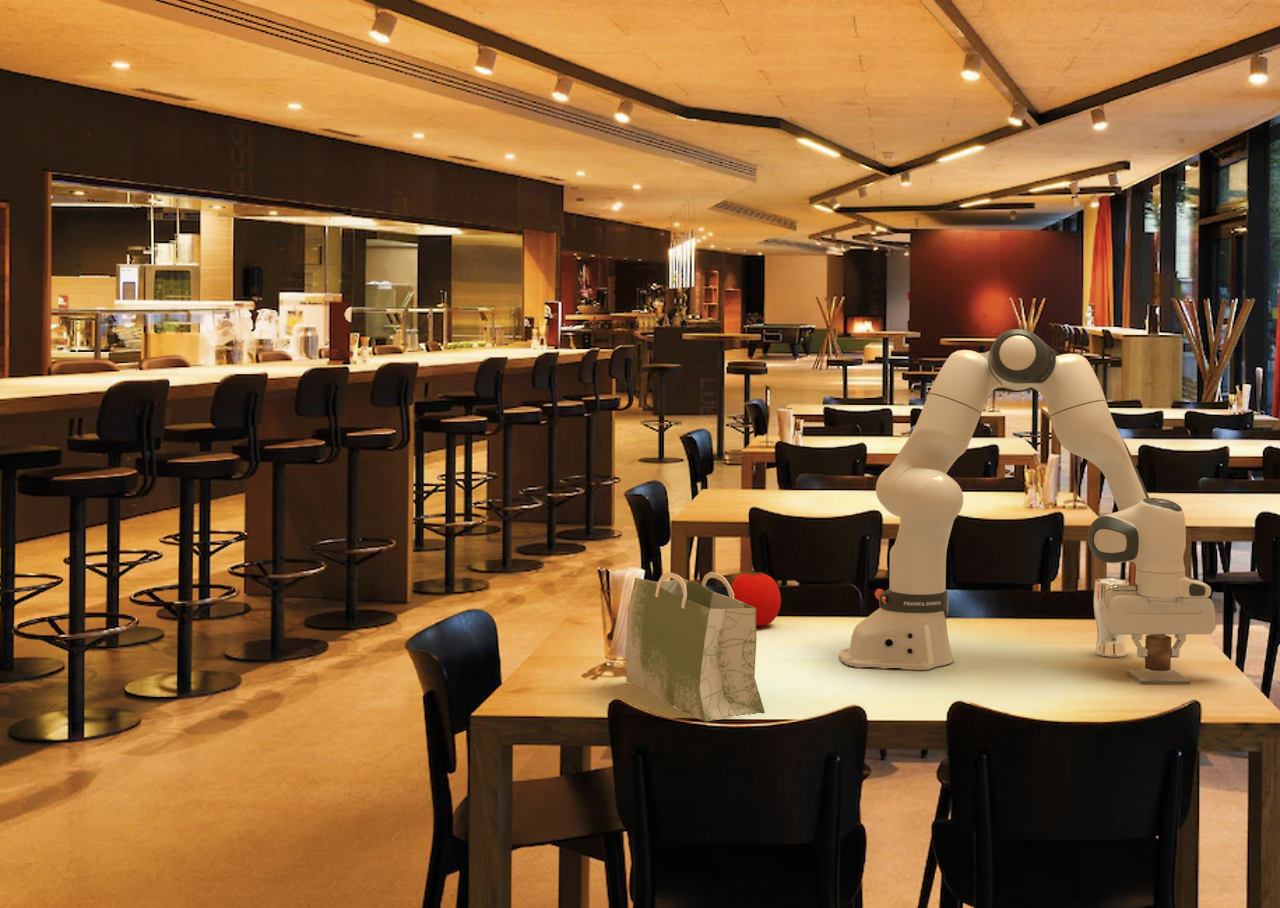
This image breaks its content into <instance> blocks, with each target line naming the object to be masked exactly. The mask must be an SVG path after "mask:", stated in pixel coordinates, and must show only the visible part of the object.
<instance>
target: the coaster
mask: <svg viewBox="0 0 1280 908" xmlns="http://www.w3.org/2000/svg"><path fill="white" fill-rule="evenodd" d="M1126 674H1128V675H1129V674H1130V675H1131V676H1132V677H1131V676H1130V675H1129V676H1130V677H1131V678H1133V677H1134V678H1135V679H1136V680H1135V679H1134V678H1133V679H1134V680H1135V681H1137V682H1138V681H1139V682H1140V683H1141V684H1140V683H1139V682H1138V683H1139V684H1140V685H1190V684H1191V681H1190V680H1189V679H1188V678H1187V677H1185V676H1184V675H1182V674H1181V673H1179V672H1178V671H1176V670H1175V669H1170V670H1168V671H1153V670H1148V669H1127V670H1126Z"/></svg>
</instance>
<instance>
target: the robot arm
mask: <svg viewBox="0 0 1280 908" xmlns="http://www.w3.org/2000/svg"><path fill="white" fill-rule="evenodd" d="M1032 389H1033V390H1035V391H1037V392H1039V394H1040V396H1041V397H1042V398H1043V401H1044V403H1045V405H1046V408H1047V412H1048V416H1049V420H1050V423H1051V426H1052V429H1053V431H1054V434H1055V436H1056V438H1057V440H1058V441H1059V443H1060V445H1061V446H1062V448H1064V449H1065V450H1066V451H1067V452H1070V453H1071V454H1073V455H1075V456H1078V457H1080V458H1083V459H1085V460H1087V461H1088V462H1090V463H1091V464H1093V465H1094V466H1095V467H1096V468H1098V469H1099V471H1100V472H1101V473H1102V474H1103V476H1104V478H1105V481H1106V483H1107V485H1108V487H1109V490H1110V493H1111V495H1112V497H1113V500H1114V501H1115V504H1116V507H1117V509H1118V511H1116V512H1115V511H1114V512H1111V513H1108V514H1107V513H1106V514H1105V515H1101V516H1100V517H1097V518H1096V519H1094V520H1093V522H1091V524H1090V526H1089V528H1088V530H1087V531H1088V532H1087V544H1088V548H1089V549H1090V551H1091V554H1093V556H1094V557H1095V558H1097V560H1099V561H1100V562H1103V563H1108V564H1120V563H1127V562H1132V563H1134V565H1135V582H1134V583H1135V584H1129V585H1123V586H1120V585H1113V586H1112V587H1110V588H1108V589H1107V590H1106V591H1105V593H1104V604H1105V606H1106V607H1105V613H1104V621H1103V626H1104V629H1105V630H1106V631H1107V632H1108V633H1110V634H1113V635H1125V636H1126V635H1130V636H1131V639H1132V642H1133V644H1134V645H1135V646H1136V649H1137V650H1136V655H1137V658H1140V659H1145V658H1147V657H1148V655H1147V653H1148V649H1147V648H1145V646H1143V645H1142V643H1141V642H1140V641H1142V640H1143V635H1152V634H1165V635H1174V638H1175V639H1176V641H1175V642H1174V644H1173V646H1171V659H1173V658H1174V659H1179V658H1180V649H1182V647H1183V645H1184V643H1185V642H1186V641H1187V635H1212V634H1213V633H1214V631H1215V630H1216V610H1215V605H1214V602H1213V601H1212V599H1211V598H1209V597H1211V594H1212V588H1211V586H1210V585H1208V584H1207V583H1205V582H1203V581H1201V580H1197V579H1195V578H1192V577H1189V576H1186V567H1185V562H1184V555H1185V551H1186V547H1187V542H1186V541H1187V540H1186V539H1187V538H1186V537H1187V533H1186V532H1187V531H1186V530H1187V529H1186V528H1187V527H1186V519H1185V514H1184V510H1183V508H1182V506H1180V505H1179V504H1178V503H1177V502H1174V501H1172V500H1169V499H1165V498H1157V497H1150V495H1149V494H1148V491H1147V489H1146V486H1145V485H1144V484H1145V483H1144V482H1143V480H1142V478H1141V475H1140V473H1139V469H1138V468H1137V466H1136V463H1135V461H1134V458H1133V456H1132V454H1131V451H1130V449H1129V447H1128V446H1127V443H1126V442H1125V440H1124V439H1123V437H1122V435H1121V432H1119V430H1118V428H1117V426H1116V423H1115V421H1114V418H1113V416H1112V413H1111V411H1110V409H1109V405H1108V402H1107V399H1106V397H1105V394H1104V391H1103V389H1102V385H1101V383H1100V381H1099V379H1098V376H1097V375H1096V373H1095V371H1094V368H1093V367H1092V365H1091V363H1090V362H1089V361H1088V358H1086V357H1085V356H1083V355H1081V354H1079V353H1065V354H1060V355H1057V354H1056V352H1055V350H1054V349H1052V348H1051V346H1049V345H1048V344H1047V343H1045V341H1044V340H1043V339H1041V338H1040V337H1039V336H1038V335H1036V333H1034V332H1032V331H1030V330H1027V329H1024V328H1013V329H1009V330H1006V331H1004V332H1003V333H1001V334H999V336H997V337H996V338H995V339H994V341H993V342H992V344H991V347H990V350H989V351H986V352H977V351H975V350H971V349H970V350H968V349H962V350H961V349H960V350H959V349H958V350H956V351H955V352H952V353H951V354H950V355H949V356H948V358H947V359H946V361H945V362H944V364H943V365H942V367H941V368H940V370H939V372H938V373H937V376H936V377H935V379H934V381H933V384H932V385H931V388H930V391H928V392H929V393H928V395H927V397H926V399H925V402H924V405H923V407H922V410H921V412H920V414H919V416H918V419H917V422H916V424H915V426H914V428H913V430H912V432H911V433H910V435H909V437H908V438H907V440H906V442H905V443H904V445H903V446H902V448H901V450H900V451H899V452H898V454H897V456H895V458H894V460H893V461H892V463H891V464H890V465H889V466H888V467H887V468H886V469H885V470H883V471H882V472H881V474H879V477H878V479H877V481H876V486H875V493H876V498H877V500H878V502H879V503H880V504H881V505H882V506H883V507H884V509H886V510H887V511H888V512H889V513H890V514H892V515H894V516H896V517H899V525H898V531H897V535H896V538H895V541H894V544H893V545H892V546H891V548H890V551H889V588H888V589H886V590H885V591H884V590H883V589H881V588H877V589H876V591H874V597H875V598H876V599H877V600H878V604H879V605H878V607H879V608H877V610H875V611H873V612H872V613H871V614H870V615H869V616H867V617H866V618H864V619H863V620H862V621H860V622H859V623H857V624H856V625H855V626H854V629H853V632H852V634H851V639H850V644H849V647H845V648H843V649H841V650H840V652H839V656H840V658H839V660H840V659H841V660H840V662H841V661H842V662H844V663H845V664H844V663H843V664H844V665H846V664H847V665H846V666H848V665H850V666H849V667H851V666H856V667H855V668H863V667H884V668H883V669H887V668H902V669H901V670H912V671H915V670H916V671H928V670H932V669H933V668H937V667H941V666H946V665H948V664H951V663H952V662H954V657H953V655H952V650H951V646H950V640H949V634H948V627H947V625H948V624H947V619H948V615H949V594H948V591H947V589H946V586H947V585H946V583H947V582H946V580H947V579H946V578H947V577H946V575H947V574H946V573H947V552H948V551H947V550H948V545H949V539H950V537H951V532H952V529H953V525H954V521H955V519H956V518H957V517H958V516H959V515H960V512H961V511H962V509H963V505H964V494H963V491H962V488H961V487H960V485H959V484H958V483H957V481H956V480H954V479H953V478H952V477H951V476H950V475H948V471H949V470H950V468H951V467H952V466H953V465H954V464H955V462H957V459H958V458H959V457H960V456H963V454H964V453H965V452H966V451H967V449H968V447H969V445H970V443H971V440H972V438H973V435H974V433H975V431H976V428H977V425H978V423H979V420H980V418H981V415H982V413H983V411H984V407H985V405H986V403H987V401H988V398H989V397H990V395H991V393H992V392H1003V393H1004V392H1007V393H1023V392H1027V391H1029V390H1032ZM1111 589H1112V590H1113V591H1109V590H1111ZM842 662H841V663H842Z"/></svg>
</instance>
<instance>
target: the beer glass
mask: <svg viewBox="0 0 1280 908" xmlns="http://www.w3.org/2000/svg"><path fill="white" fill-rule="evenodd" d="M1113 585H1120V586H1123V585H1130V582H1129V581H1128V580H1126V579H1120V578H1097V579H1095V581H1094V591H1093V612H1094V613H1093V614H1094V619H1095V624H1096V631H1097V633H1096V636H1097V639H1096V645H1095V650H1094V653H1096V655H1097V654H1098V655H1097V656H1099V655H1102V656H1101V657H1104V656H1108V657H1107V658H1123V657H1126V656H1127V649H1126V642H1125V640H1126V639H1125V636H1126V635H1113V634H1110V633H1108V632H1107V631H1106V630H1105V629H1104V626H1103V621H1104V613H1105V607H1106V606H1105V604H1104V593H1105V591H1106V590H1107V589H1108V588H1110V587H1112V586H1113ZM1109 591H1113V590H1112V589H1111V590H1109ZM1125 655H1126V656H1125ZM1122 656H1123V657H1122Z"/></svg>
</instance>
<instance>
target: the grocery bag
mask: <svg viewBox="0 0 1280 908" xmlns="http://www.w3.org/2000/svg"><path fill="white" fill-rule="evenodd" d="M711 578H712V579H717V580H719V581H720V582H722V584H723V585H724V586H725V587H726V590H727V594H728V596H726V595H723V594H720V593H717V592H715V591H713V590H711V589H709V588H708V587H706V585H707V582H708V580H709V579H711ZM667 579H672V580H669V581H666V582H665V580H667ZM731 586H732V585H730V583H729V581H728V580H727V579H726V577H725V576H723V575H721V574H719V573H716V572H713V571H709V572H708V573H706V574H704V577H703V579H702V581H701V584H700V583H698V582H695V581H691V580H688V579H685V578H683V577H682V576H680V575H679V574H676V573H673V572H671V571H666V573H663V574H661V575H660V578H659V579H658V580H657V581H654V580H649V579H645V578H644V579H643V578H639V577H635V578H634V581H633V587H632V591H631V595H630V599H629V604H628V606H627V618H626V620H627V622H626V625H627V626H626V637H625V639H626V642H625V669H626V670H625V671H626V675H625V676H626V683H627V682H629V683H631V684H630V685H632V684H633V685H632V686H634V685H635V687H637V686H638V687H637V688H639V687H640V689H642V688H643V689H642V690H645V691H647V692H648V691H649V692H648V693H650V694H652V695H653V694H654V695H653V696H655V697H656V696H657V698H658V697H659V698H658V699H660V698H661V699H662V700H661V699H660V700H661V701H663V700H664V701H666V702H667V703H666V702H665V703H666V704H668V703H669V704H670V705H669V704H668V705H669V706H671V705H672V706H674V707H676V708H677V709H679V710H681V711H682V712H681V711H680V712H681V713H683V712H685V713H684V714H686V713H687V714H686V715H688V714H690V715H692V716H691V717H693V716H694V717H693V718H695V717H696V718H695V719H698V720H701V721H702V722H703V721H704V722H711V721H717V720H723V719H724V720H725V719H731V718H730V717H733V716H740V715H746V714H755V715H757V714H756V713H762V714H765V713H766V712H765V708H764V706H763V705H764V704H763V702H762V698H761V696H760V692H759V688H758V685H757V681H756V679H755V675H756V674H755V672H756V671H755V670H756V656H757V655H756V654H757V627H756V608H754V607H752V606H750V605H747V604H745V603H743V602H740V601H738V600H736V599H734V593H733V591H732V589H731ZM629 683H628V684H629ZM664 701H663V702H664ZM672 706H671V707H672ZM674 707H673V708H674ZM677 709H676V710H677ZM679 710H678V711H679ZM690 715H689V716H690ZM740 717H741V716H740ZM733 718H734V717H733Z"/></svg>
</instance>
